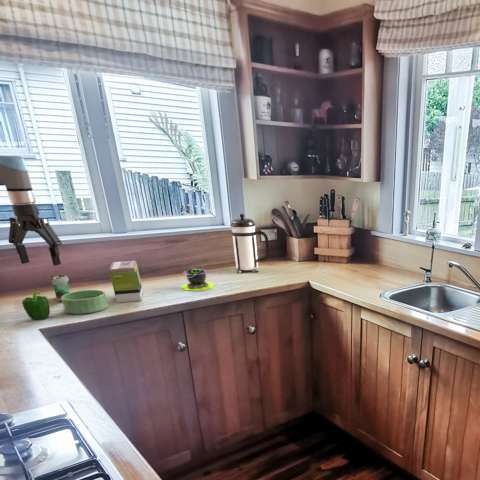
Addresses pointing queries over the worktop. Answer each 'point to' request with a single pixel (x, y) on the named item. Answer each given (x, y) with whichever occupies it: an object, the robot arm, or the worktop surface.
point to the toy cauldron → (196, 280)
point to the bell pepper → (37, 306)
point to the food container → (60, 285)
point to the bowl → (84, 301)
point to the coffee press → (246, 244)
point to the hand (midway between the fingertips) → (41, 263)
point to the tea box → (126, 281)
